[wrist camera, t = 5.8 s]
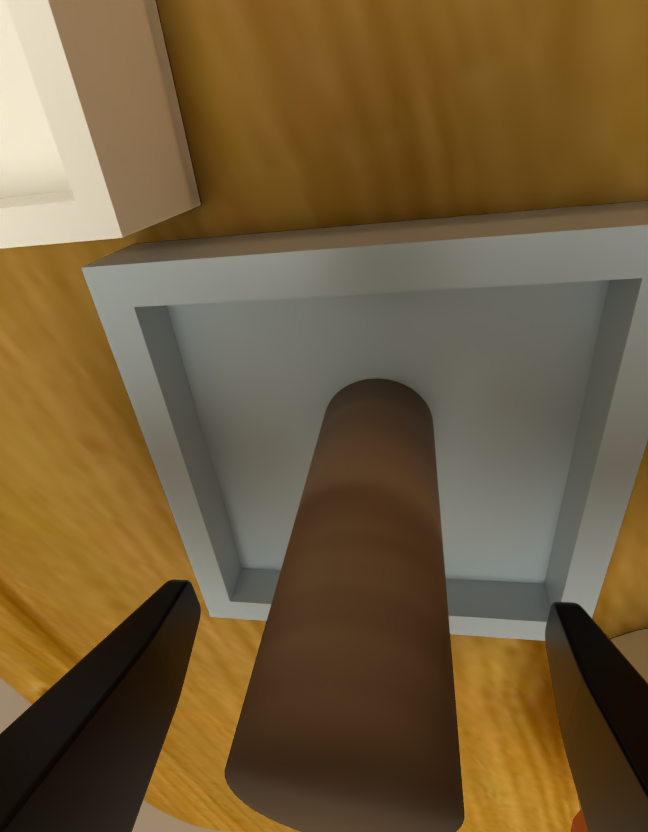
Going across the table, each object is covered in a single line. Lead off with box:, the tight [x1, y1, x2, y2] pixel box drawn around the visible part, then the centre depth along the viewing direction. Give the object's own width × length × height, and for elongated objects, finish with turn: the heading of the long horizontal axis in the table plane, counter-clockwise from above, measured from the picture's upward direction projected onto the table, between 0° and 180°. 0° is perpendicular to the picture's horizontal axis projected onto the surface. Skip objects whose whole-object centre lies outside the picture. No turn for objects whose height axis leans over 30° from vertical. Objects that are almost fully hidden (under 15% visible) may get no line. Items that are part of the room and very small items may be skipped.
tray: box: [81, 201, 648, 641], centre depth 14 cm, size 13×13×2 cm
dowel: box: [225, 378, 464, 832], centre depth 10 cm, size 3×3×9 cm
